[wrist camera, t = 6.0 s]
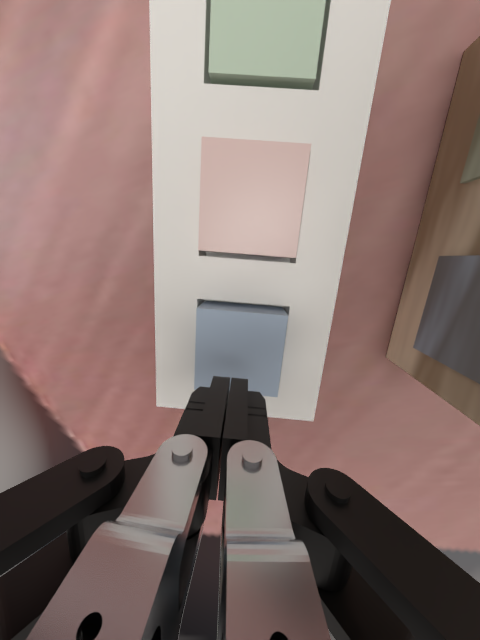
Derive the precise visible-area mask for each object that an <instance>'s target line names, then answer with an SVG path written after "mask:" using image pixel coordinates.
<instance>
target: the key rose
mask: <svg viewBox="0 0 480 640" xmlns="http://www.w3.org/2000/svg"><path fill="white" fill-rule="evenodd" d="M310 150H311V144H307V143H292V142H277V141H262V140H247V139H232V138H217V137H202V139H201V173H200V207H199V241H198V250H200V251H206V252H218V253H230V254H243V255H256V256H268V257H281V258H296V255H297V247H298V240H299V232H300V225H301V217H302V210H303V202H304V195H305V187H306V180H307V172H308V165H309V157H310Z"/></svg>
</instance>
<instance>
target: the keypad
mask: <svg viewBox="0 0 480 640" xmlns="http://www.w3.org/2000/svg"><path fill="white" fill-rule="evenodd" d="M390 3H391V0H326V3H325V11H324V19H323V26H322V34H321V42H320V50H319V57H318V65H317V73H316V79H315V82H314V85H313V88H312V90H303V89H287V88H270V87H254V86H237V85H221V84H211V81H210V77H209V73H208V71H209V41H210V12H211V0H149V4H150V62H151V119H152V177H153V235H154V292H155V350H156V406H159V407H169V408H180V409H185V408H186V406H187V403H188V401H189V399H190V396H191V394H192V392H194V391H195V390H194V377H195V343H196V309H197V307H198V306H199V305H201V304H202V303H203V302H204V301H217V302H229V303H240V304H252V305H264V306H276V307H283V309H284V310H285V312H286V313H287V315H288V322H287V329H286V337H285V344H284V352H283V359H282V367H281V374H280V382H279V389H278V397H269V396H263V397H264V398H265V401H266V410H267V417H274V418H284V419H294V420H305V421H314V416H315V410H316V405H317V399H318V394H319V389H320V383H321V378H322V372H323V367H324V361H325V356H326V350H327V345H328V340H329V334H330V329H331V323H332V318H333V312H334V307H335V302H336V296H337V291H338V285H339V280H340V274H341V269H342V263H343V258H344V253H345V247H346V242H347V236H348V231H349V225H350V220H351V215H352V209H353V204H354V198H355V193H356V187H357V182H358V176H359V171H360V166H361V160H362V155H363V149H364V144H365V138H366V133H367V128H368V122H369V117H370V111H371V106H372V100H373V95H374V90H375V84H376V79H377V73H378V68H379V62H380V57H381V51H382V46H383V41H384V35H385V30H386V24H387V19H388V13H389V8H390ZM202 137H217V138H232V139H247V140H262V141H277V142H292V143H307V144H311V150H310V157H309V165H308V172H307V180H306V187H305V195H304V202H303V210H302V217H301V225H300V232H299V240H298V247H297V255H296V258H281V257H268V256H256V255H243V254H230V253H218V252H206V251H200V250H198V241H199V207H200V173H201V139H202Z"/></svg>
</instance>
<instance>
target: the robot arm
mask: <svg viewBox="0 0 480 640" xmlns="http://www.w3.org/2000/svg"><path fill="white" fill-rule="evenodd" d="M229 388H230V391H229ZM219 474H220V481H219ZM218 481H219V495H218V500H222V501H224V502H223V514H222V527H221V549H220V577H219V606H218V631H217V632H218V633H217V640H331V639H330V635H329V631H330V632H331V633H332V635H333V636H334V638H335V639H336V640H480V583H479V582H478V581H476V580H475V579H474V578H472V577H471V576H470V575H469V574H468V573H466V572H465V571H464V570H463V569H462V568H460V567H459V566H458V565H457V564H455V563H454V562H453V561H452V560H451V559H449V558H448V557H447V556H446V555H444V554H443V553H442V552H441V551H440V550H438V549H437V548H436V547H435V546H433V545H432V544H431V543H430V542H428V541H427V540H426V539H425V538H424V537H422V536H421V535H420V534H419V533H417V532H416V531H415V530H414V529H413V528H411V527H410V526H409V525H408V524H406V523H405V522H404V521H403V520H401V519H400V518H399V517H398V516H397V515H395V514H394V513H393V512H392V511H390V510H389V509H388V508H387V507H386V506H384V505H383V504H382V503H381V502H379V501H378V500H377V499H376V498H374V497H373V496H372V495H371V494H370V493H368V492H367V491H366V490H365V489H363V488H362V487H361V486H360V485H359V484H357V483H356V482H355V481H354V480H352V479H351V478H350V477H348V476H347V475H345V474H344V473H342V472H340V471H337V470H334V469H330V468H320V469H316V470H315V471H313V472H312V473H311V474H310V476H309V477H306V476H304V475H301V474H299V473H296V472H294V471H291V470H289V469H288V468H286V467H285V466H283V465H282V464H281V463H280V462H279V461H278V460H277V459H276V456H275V454H274V453H273V451H272V450H271V443H270V435H269V426H268V418H267V410H266V401H265V398H264V397H263V396H262V394H261V393H260V392H256V391H248V379H243V378H231V384H230V377H220V376H213V379H212V382H211V385H210V387H201V386H200V387H198V388H197V389H196V390H195V391H194V392H192V394H191V396H190V399H189V401H188V403H187V406H186V408H185V410H184V413H183V415H182V417H181V420H180V422H179V424H178V427H177V429H176V431H175V434H174V436H173V437H171V438H169V439H168V440H166V441H165V442H164V443H163V444H162V445H161V446H160V447H159V449H158V450H157V452H156V453H155V454H153V455H150V456H147V457H142V458H137V459H131V460H126V461H124V455H123V453H122V452H121V451H120V450H119V449H117V448H115V447H111V446H101V447H96V448H92V449H89V450H87V451H85V452H82V453H81V454H79V455H76V456H75V457H72V458H71V459H68V460H66V461H64V462H62V463H60V464H58V465H56V466H54V467H52V468H50V469H48V470H46V471H44V472H42V473H41V474H38V475H36V476H34V477H32V478H30V479H28V480H26V481H24V482H22V483H20V484H18V485H16V486H14V487H12V488H10V489H8V490H6V491H4V492H2V493H0V575H2V574H3V573H5V572H6V571H8V570H9V569H11V568H12V567H14V566H15V565H16V564H18V563H19V562H21V561H22V560H24V559H25V558H27V557H28V556H30V555H31V554H32V553H34V552H35V551H37V550H38V549H40V548H41V547H43V546H44V545H46V544H47V543H49V542H50V541H51V540H53V539H54V538H56V537H57V536H59V535H60V534H62V533H63V532H65V531H66V532H65V533H64V534H62V535H61V536H60V537H58V538H56V539H55V540H54V541H52V542H51V543H49V544H48V545H46V546H45V547H44V548H42V549H41V550H39V551H38V552H36V553H35V554H33V555H32V556H30V557H29V558H27V559H26V560H25V561H23V562H22V563H20V564H19V565H17V566H16V567H14V568H13V569H11V570H10V571H9V572H7V573H6V574H4V575H3V576H1V577H0V640H178V637H179V630H180V625H181V620H182V615H183V611H184V607H185V603H186V599H187V595H188V590H189V586H190V582H191V578H192V573H193V569H194V565H195V561H196V557H197V552H198V548H199V544H200V539H201V536H202V531H203V526H204V520H205V517H206V513H207V507H208V501H209V499H210V500H216V496H217V489H218ZM328 629H329V631H328Z"/></svg>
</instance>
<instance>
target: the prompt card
mask: <svg viewBox="0 0 480 640" xmlns="http://www.w3.org/2000/svg"><path fill="white" fill-rule="evenodd" d="M386 358H388V359H389V360H390V361H392V362H393V363H394V364H396V365H397V366H398V367H400V368H401V369H403V370H404V371H405V372H407V373H408V374H409V375H411V376H412V377H414V378H415V379H416V380H418V381H419V382H420V383H422V384H423V385H425V386H426V387H427V388H429V389H430V390H431V391H433V392H434V393H436V394H437V395H438V396H440V397H441V398H442V399H444V400H445V401H447V402H448V403H449V404H451V405H452V406H453V407H455V408H456V409H458V410H459V411H460V412H462V413H463V414H464V415H466V416H467V417H468V418H470V419H471V420H473V421H474V422H475V423H477V424H478V425H479V426H480V37H478V38H477V39H476V40H475V41H474V42H473V43H472V44H471V45H470V46H469V47H468V48H467V49H466V50H465V51H464V53H463V57H462V61H461V65H460V69H459V73H458V77H457V81H456V85H455V88H454V92H453V96H452V100H451V104H450V108H449V112H448V116H447V120H446V124H445V128H444V131H443V135H442V139H441V143H440V147H439V151H438V155H437V159H436V163H435V167H434V171H433V174H432V178H431V182H430V186H429V190H428V194H427V198H426V202H425V206H424V210H423V214H422V217H421V221H420V225H419V229H418V233H417V237H416V241H415V245H414V249H413V253H412V257H411V260H410V264H409V268H408V272H407V276H406V280H405V284H404V288H403V292H402V296H401V300H400V303H399V307H398V311H397V315H396V319H395V323H394V327H393V331H392V335H391V339H390V343H389V346H388V350H387V354H386Z"/></svg>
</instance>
